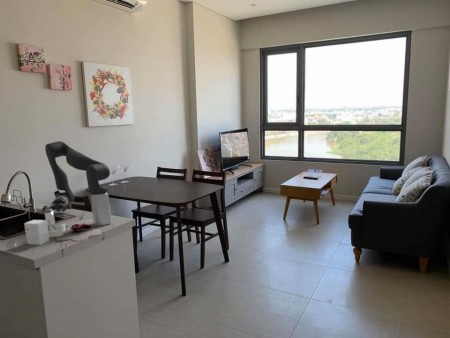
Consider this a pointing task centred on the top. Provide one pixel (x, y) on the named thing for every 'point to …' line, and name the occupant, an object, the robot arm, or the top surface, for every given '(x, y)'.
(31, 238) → the small box
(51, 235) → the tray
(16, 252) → the top surface
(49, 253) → the top surface
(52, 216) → the glass shaker
